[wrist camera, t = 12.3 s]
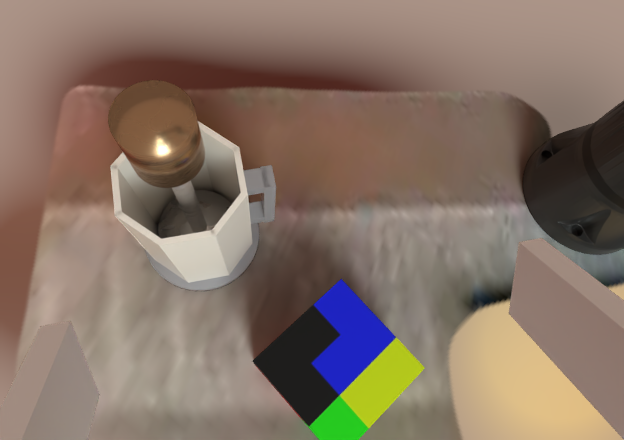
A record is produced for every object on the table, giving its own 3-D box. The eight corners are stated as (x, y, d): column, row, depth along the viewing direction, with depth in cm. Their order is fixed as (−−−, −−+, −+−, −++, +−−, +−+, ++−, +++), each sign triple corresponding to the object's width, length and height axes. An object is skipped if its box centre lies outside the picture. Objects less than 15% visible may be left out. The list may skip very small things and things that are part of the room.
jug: (262, 175, 54) (261, 101, 40) (282, 276, 50) (288, 235, 36) (140, 194, 52) (93, 123, 38) (152, 301, 48) (105, 268, 34)
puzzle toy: (326, 298, 50) (341, 278, 41) (393, 370, 48) (424, 367, 39) (255, 364, 47) (252, 360, 38) (323, 444, 45) (338, 461, 36)
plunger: (232, 187, 50) (210, 52, 30) (245, 259, 48) (230, 166, 27) (156, 199, 49) (76, 67, 28) (165, 273, 47) (85, 188, 26)
